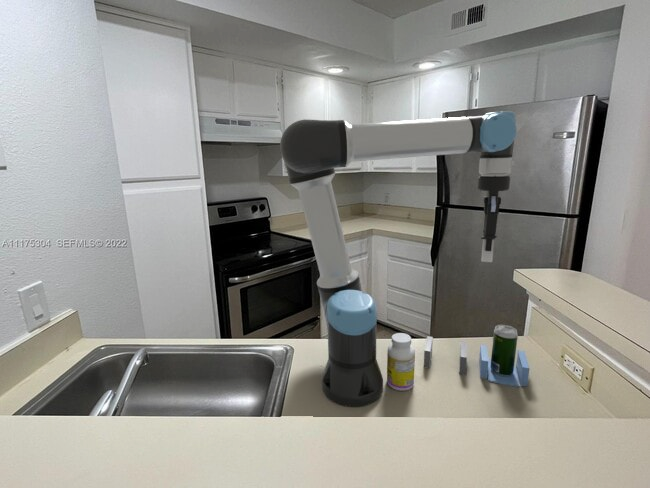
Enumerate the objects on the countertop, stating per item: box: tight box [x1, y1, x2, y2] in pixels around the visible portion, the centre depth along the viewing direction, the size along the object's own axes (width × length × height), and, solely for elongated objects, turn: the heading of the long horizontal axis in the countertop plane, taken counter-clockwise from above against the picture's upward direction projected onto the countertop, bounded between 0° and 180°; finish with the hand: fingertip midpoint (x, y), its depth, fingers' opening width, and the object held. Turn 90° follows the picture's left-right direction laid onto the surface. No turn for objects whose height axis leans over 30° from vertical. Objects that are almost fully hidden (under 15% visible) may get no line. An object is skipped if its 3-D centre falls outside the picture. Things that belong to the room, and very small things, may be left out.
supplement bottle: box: [386, 332, 416, 392], centre depth 85 cm, size 7×7×13 cm
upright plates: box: [423, 336, 531, 387], centre depth 92 cm, size 24×8×5 cm, turn 68°
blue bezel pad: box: [487, 358, 520, 388], centre depth 90 cm, size 7×10×1 cm
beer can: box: [490, 324, 519, 377], centre depth 88 cm, size 5×5×12 cm
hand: (486, 261), depth 96 cm, fingers closed
